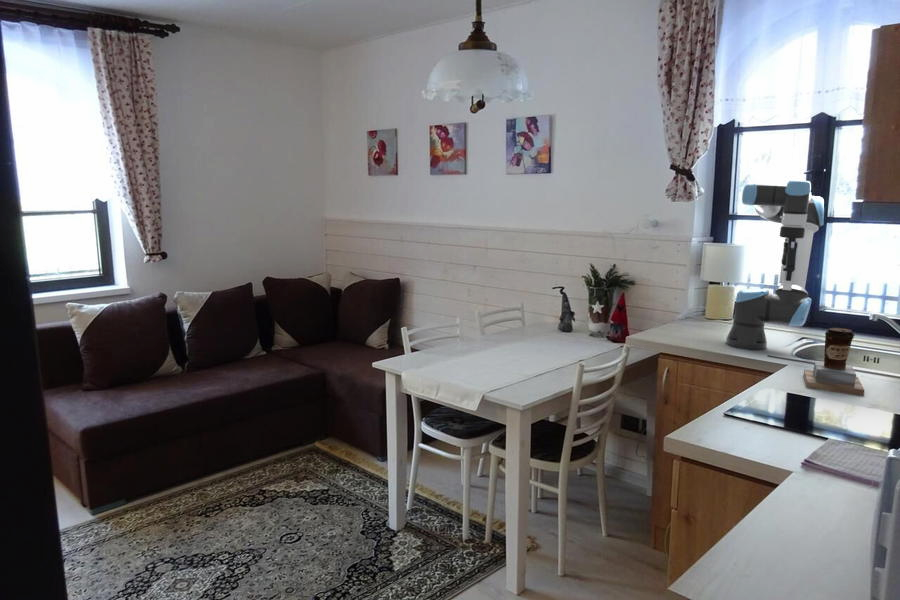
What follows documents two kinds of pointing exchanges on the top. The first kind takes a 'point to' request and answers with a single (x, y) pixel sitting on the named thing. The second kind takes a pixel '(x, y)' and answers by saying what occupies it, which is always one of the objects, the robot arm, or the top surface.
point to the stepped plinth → (833, 386)
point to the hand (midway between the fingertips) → (784, 286)
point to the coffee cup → (837, 347)
